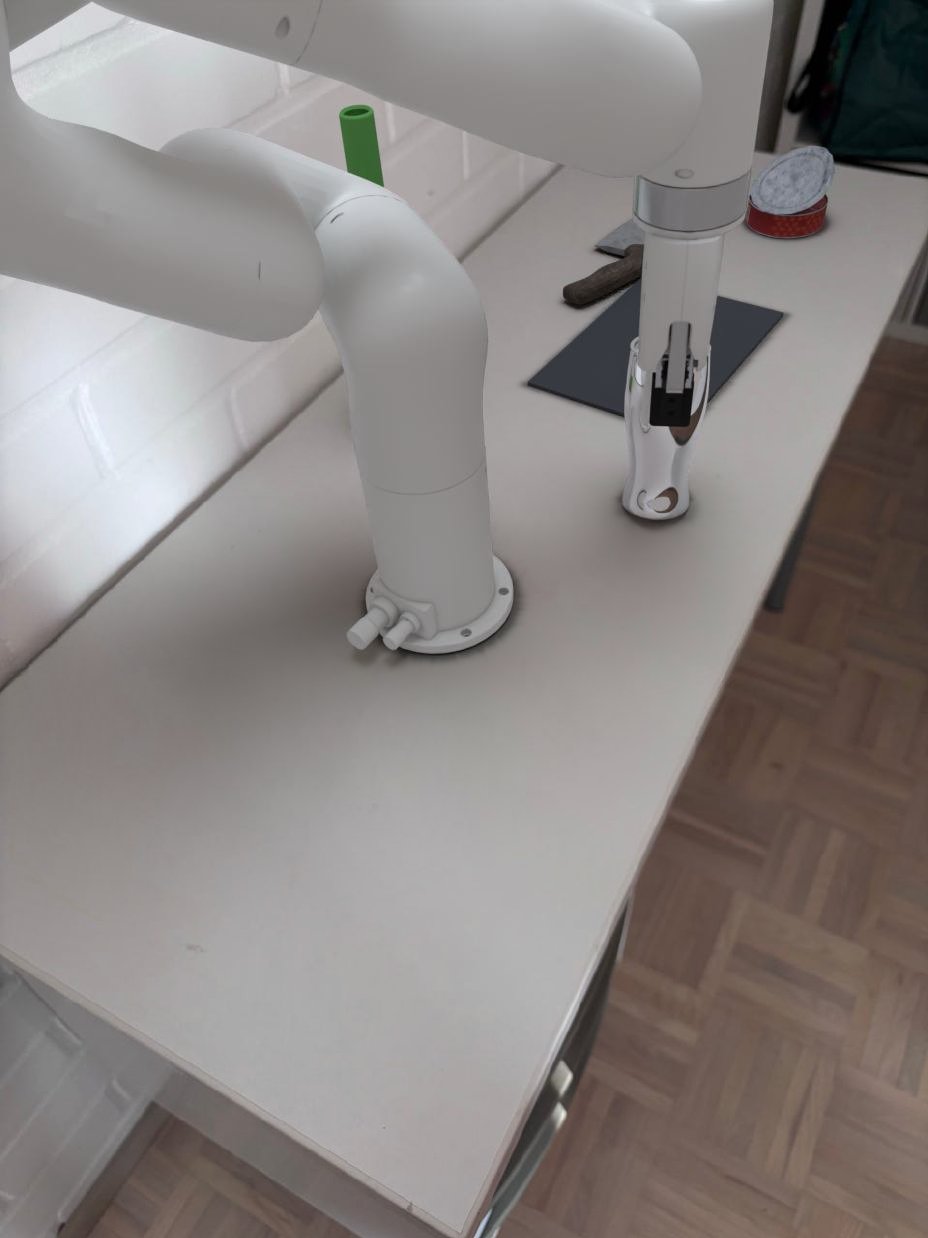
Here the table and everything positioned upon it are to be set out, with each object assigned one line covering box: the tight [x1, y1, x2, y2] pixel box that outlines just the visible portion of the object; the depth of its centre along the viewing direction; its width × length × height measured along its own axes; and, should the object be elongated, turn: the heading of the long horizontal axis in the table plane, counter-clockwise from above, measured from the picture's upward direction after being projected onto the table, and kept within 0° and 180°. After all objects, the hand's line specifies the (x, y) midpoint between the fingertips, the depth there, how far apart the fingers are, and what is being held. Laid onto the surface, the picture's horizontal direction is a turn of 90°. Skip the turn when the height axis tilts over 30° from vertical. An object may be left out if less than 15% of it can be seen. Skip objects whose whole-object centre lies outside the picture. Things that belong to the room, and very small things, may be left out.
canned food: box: [744, 145, 836, 240], centre depth 121 cm, size 11×10×10 cm
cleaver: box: [562, 218, 646, 305], centre depth 120 cm, size 30×10×2 cm, turn 141°
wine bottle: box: [338, 104, 385, 188], centre depth 89 cm, size 8×8×30 cm
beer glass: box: [621, 336, 711, 521], centre depth 82 cm, size 7×7×15 cm
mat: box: [527, 277, 784, 418], centre depth 105 cm, size 26×18×1 cm
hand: (669, 420), depth 76 cm, fingers closed
